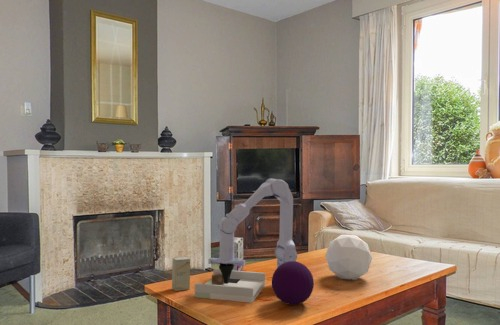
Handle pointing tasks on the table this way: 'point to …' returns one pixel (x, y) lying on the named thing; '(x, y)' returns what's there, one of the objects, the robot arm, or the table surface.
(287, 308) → the table surface
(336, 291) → the table surface
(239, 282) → the board
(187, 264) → the skincare box
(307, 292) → the toy ball
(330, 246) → the geometric orb
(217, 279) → the walnut block
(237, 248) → the candy bar box
